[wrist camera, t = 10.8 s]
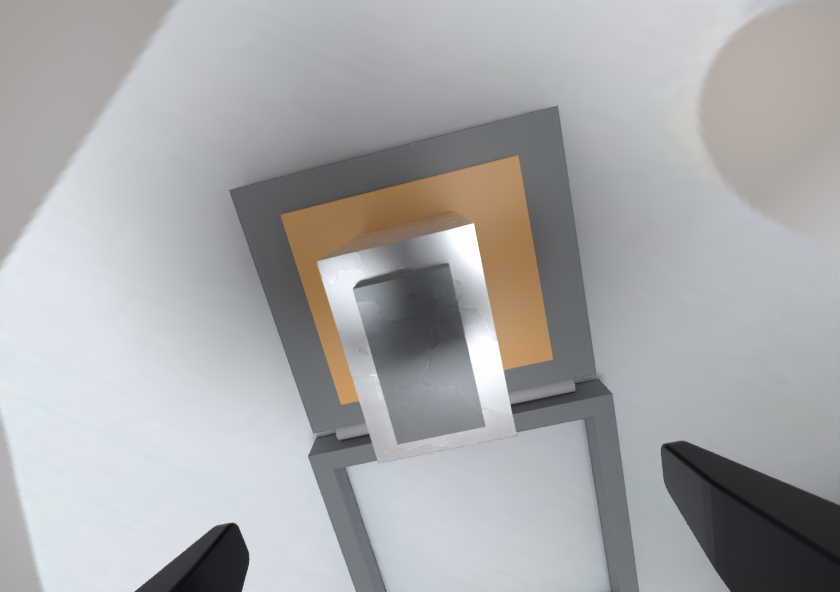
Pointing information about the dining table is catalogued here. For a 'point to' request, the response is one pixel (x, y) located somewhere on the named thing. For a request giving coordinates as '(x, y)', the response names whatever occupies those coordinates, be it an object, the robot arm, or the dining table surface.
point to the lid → (417, 199)
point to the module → (419, 336)
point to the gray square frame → (581, 404)
